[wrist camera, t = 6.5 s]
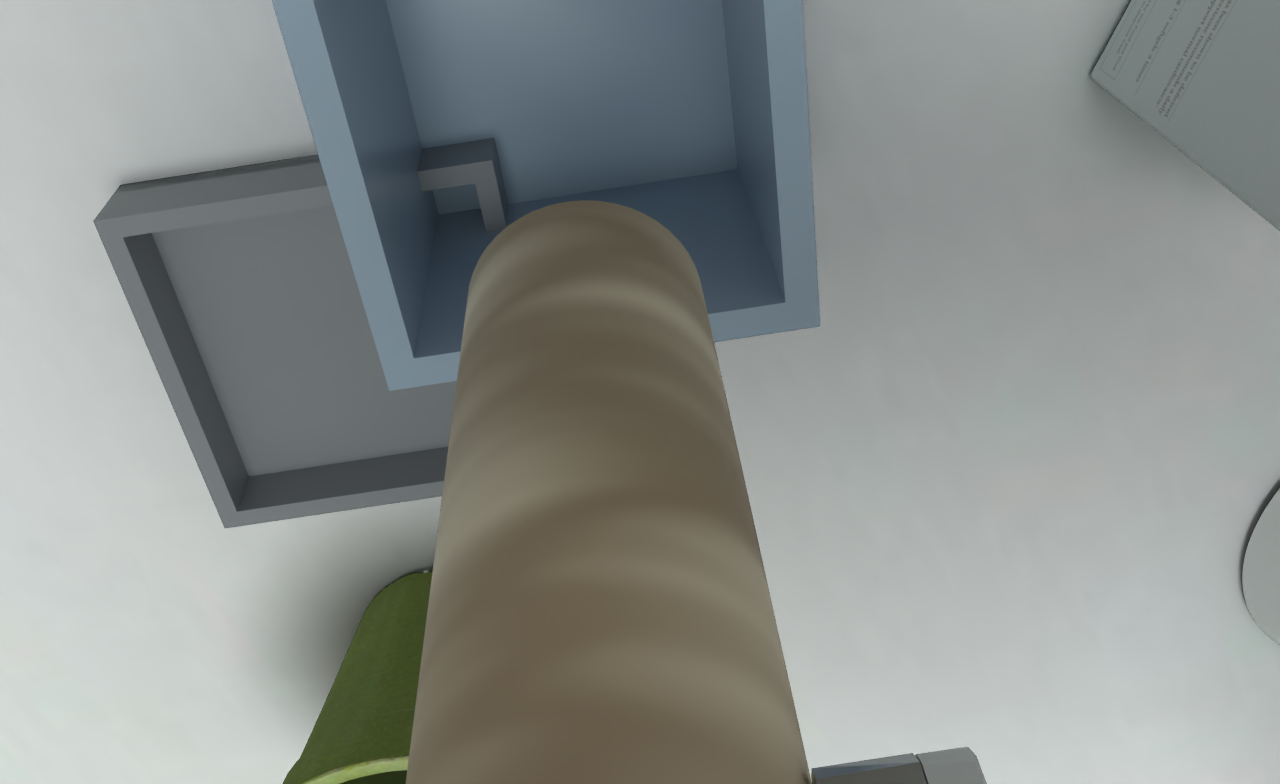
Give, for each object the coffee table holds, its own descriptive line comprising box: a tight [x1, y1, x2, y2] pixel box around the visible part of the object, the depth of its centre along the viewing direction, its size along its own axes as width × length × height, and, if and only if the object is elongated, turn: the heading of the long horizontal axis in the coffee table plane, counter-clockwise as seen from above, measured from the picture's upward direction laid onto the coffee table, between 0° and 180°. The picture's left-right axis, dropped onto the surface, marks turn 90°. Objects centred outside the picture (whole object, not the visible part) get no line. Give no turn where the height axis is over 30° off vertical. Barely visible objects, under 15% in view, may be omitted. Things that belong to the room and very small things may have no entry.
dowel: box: [406, 200, 812, 784], centre depth 14 cm, size 4×4×15 cm
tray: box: [94, 138, 508, 528], centre depth 37 cm, size 11×11×2 cm
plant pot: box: [283, 572, 432, 784], centre depth 41 cm, size 12×12×11 cm
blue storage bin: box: [272, 0, 820, 391], centre depth 29 cm, size 11×11×9 cm
